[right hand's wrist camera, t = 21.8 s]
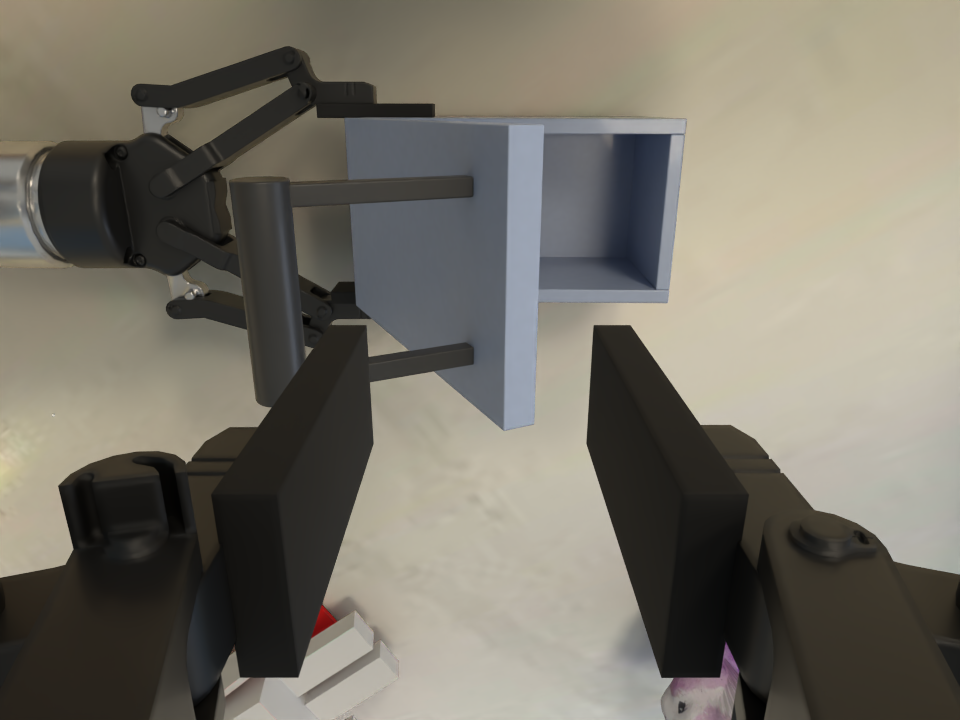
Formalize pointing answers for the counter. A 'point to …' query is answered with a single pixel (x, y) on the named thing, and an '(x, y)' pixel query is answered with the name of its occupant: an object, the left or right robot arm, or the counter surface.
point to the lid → (413, 257)
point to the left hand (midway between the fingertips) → (435, 205)
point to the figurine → (703, 695)
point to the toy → (316, 676)
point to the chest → (605, 205)
